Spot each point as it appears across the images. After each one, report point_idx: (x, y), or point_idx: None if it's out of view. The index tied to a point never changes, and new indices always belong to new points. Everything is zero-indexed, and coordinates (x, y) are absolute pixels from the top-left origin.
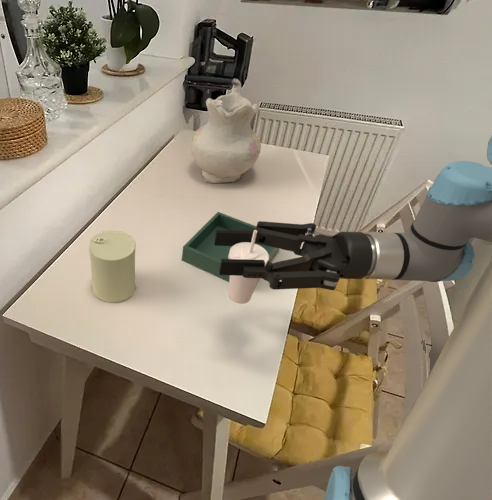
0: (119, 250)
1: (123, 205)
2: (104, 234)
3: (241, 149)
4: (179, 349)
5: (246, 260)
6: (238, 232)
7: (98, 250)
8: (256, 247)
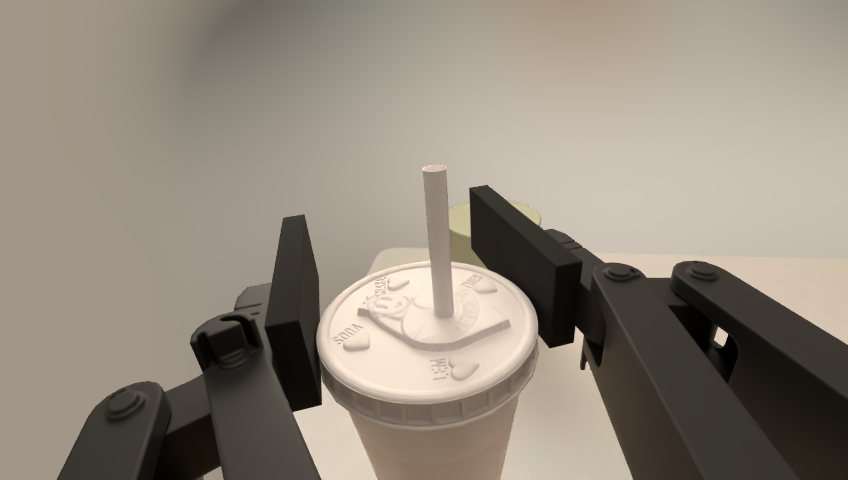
0: None
1: (728, 264)
2: (514, 205)
3: None
4: (356, 470)
5: (293, 264)
6: (514, 220)
7: (464, 210)
8: (506, 334)
